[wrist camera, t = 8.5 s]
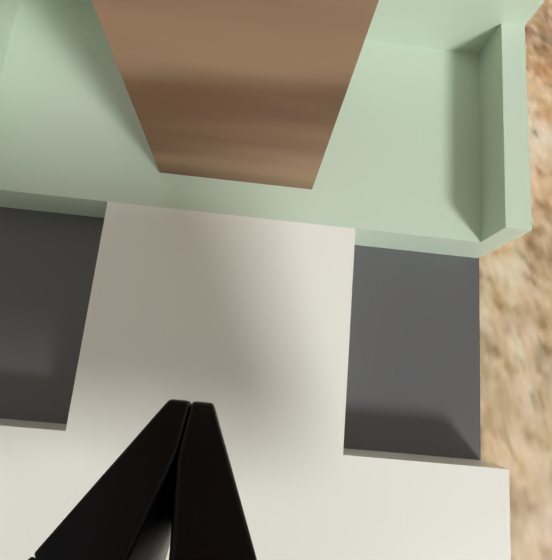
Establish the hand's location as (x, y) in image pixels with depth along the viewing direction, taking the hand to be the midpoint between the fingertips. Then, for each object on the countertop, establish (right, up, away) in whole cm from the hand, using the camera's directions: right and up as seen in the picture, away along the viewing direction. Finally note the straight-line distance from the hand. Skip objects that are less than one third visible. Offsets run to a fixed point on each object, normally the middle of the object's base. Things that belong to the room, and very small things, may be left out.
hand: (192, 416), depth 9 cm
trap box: (0, +2, +8) cm, 8 cm away
